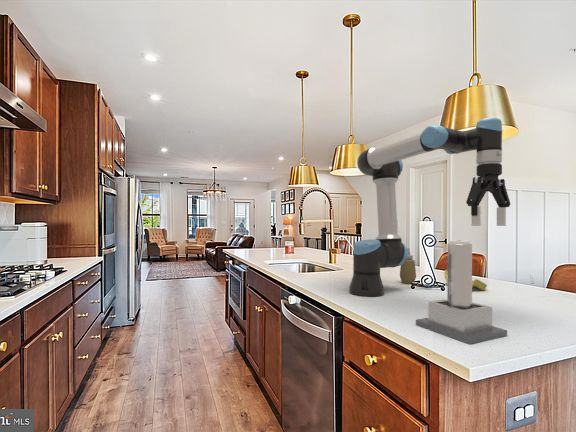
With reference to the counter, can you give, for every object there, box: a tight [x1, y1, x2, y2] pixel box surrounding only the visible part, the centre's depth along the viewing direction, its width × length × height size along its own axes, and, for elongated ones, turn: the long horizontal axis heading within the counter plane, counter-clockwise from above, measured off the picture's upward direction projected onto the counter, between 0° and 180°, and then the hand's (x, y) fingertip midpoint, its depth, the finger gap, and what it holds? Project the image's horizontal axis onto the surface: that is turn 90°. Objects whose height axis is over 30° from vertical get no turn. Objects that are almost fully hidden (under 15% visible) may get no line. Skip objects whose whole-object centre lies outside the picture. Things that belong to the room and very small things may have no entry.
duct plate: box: [415, 298, 508, 345], centre depth 98 cm, size 18×16×8 cm
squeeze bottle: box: [399, 247, 417, 285], centre depth 171 cm, size 8×8×18 cm
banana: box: [443, 269, 488, 292], centre depth 162 cm, size 20×7×10 cm
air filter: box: [446, 239, 473, 310], centre depth 98 cm, size 6×6×25 cm
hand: (488, 225), depth 114 cm, fingers open, 13 cm apart
